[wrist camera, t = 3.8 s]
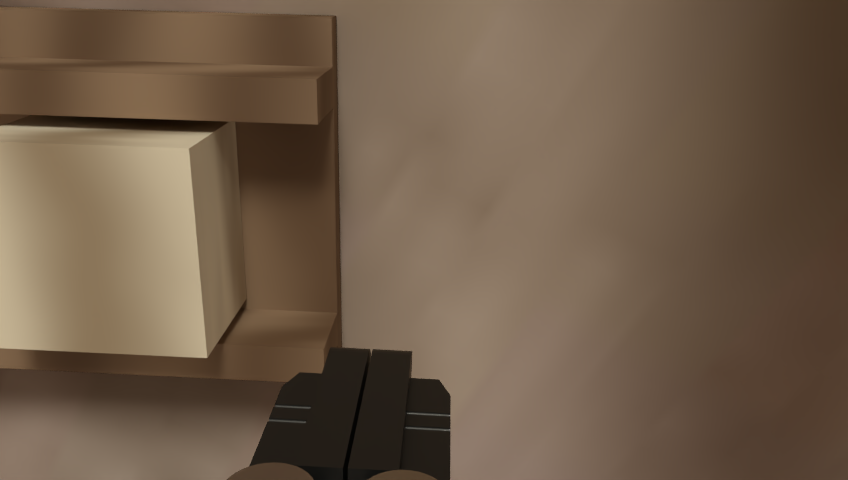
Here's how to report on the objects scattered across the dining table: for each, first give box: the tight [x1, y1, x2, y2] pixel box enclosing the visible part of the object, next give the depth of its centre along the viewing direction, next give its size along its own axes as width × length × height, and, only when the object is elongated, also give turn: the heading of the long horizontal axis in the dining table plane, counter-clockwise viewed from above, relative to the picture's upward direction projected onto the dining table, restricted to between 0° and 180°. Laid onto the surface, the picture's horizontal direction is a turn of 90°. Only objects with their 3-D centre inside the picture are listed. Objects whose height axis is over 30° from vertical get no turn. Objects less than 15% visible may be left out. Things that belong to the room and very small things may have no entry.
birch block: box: [0, 115, 247, 358], centre depth 22 cm, size 6×6×4 cm
